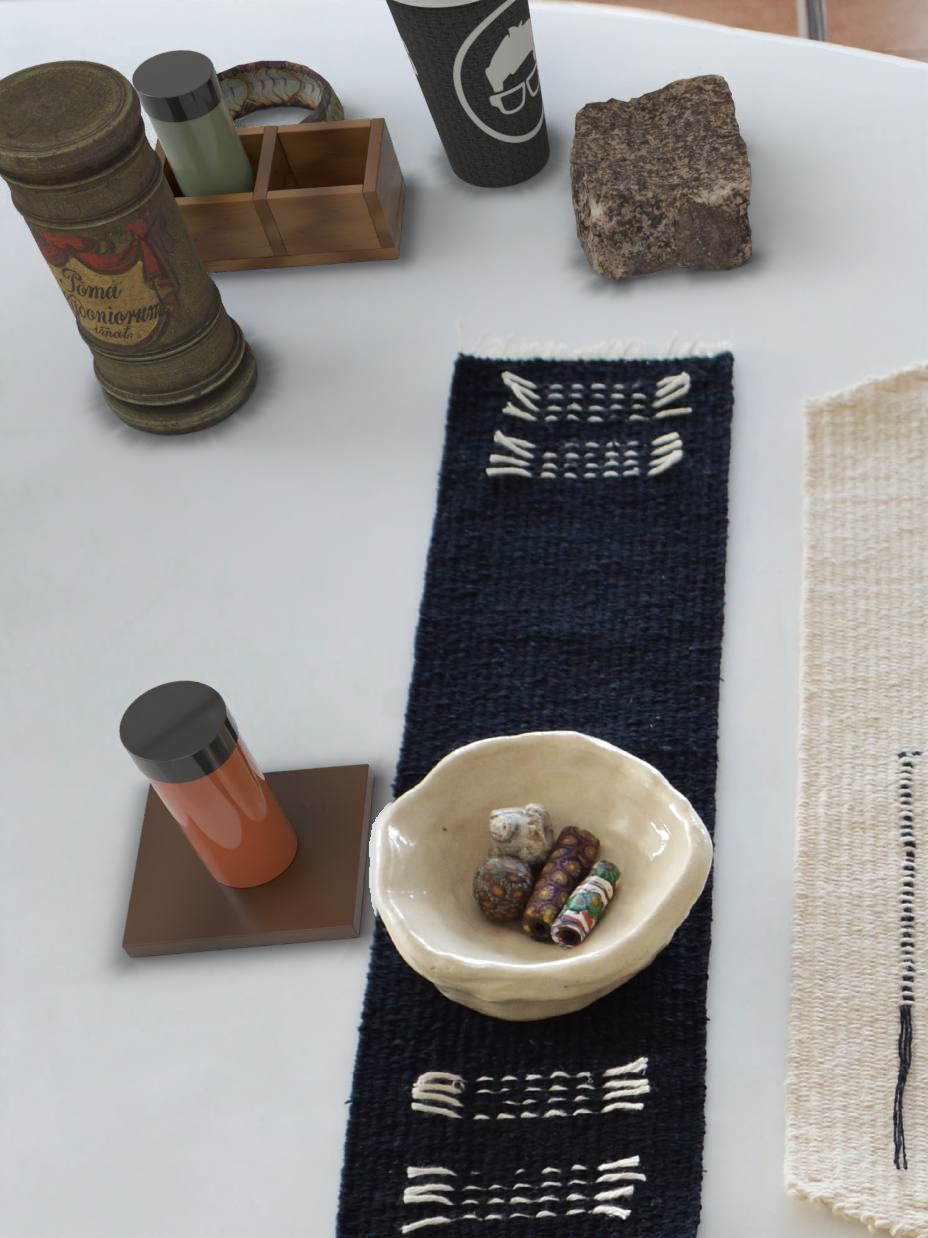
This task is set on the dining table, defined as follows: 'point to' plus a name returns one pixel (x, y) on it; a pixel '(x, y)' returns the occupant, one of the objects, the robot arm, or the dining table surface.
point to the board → (272, 912)
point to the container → (120, 248)
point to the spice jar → (209, 782)
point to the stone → (662, 181)
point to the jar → (194, 123)
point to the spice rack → (303, 199)
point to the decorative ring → (279, 90)
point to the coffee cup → (479, 84)
